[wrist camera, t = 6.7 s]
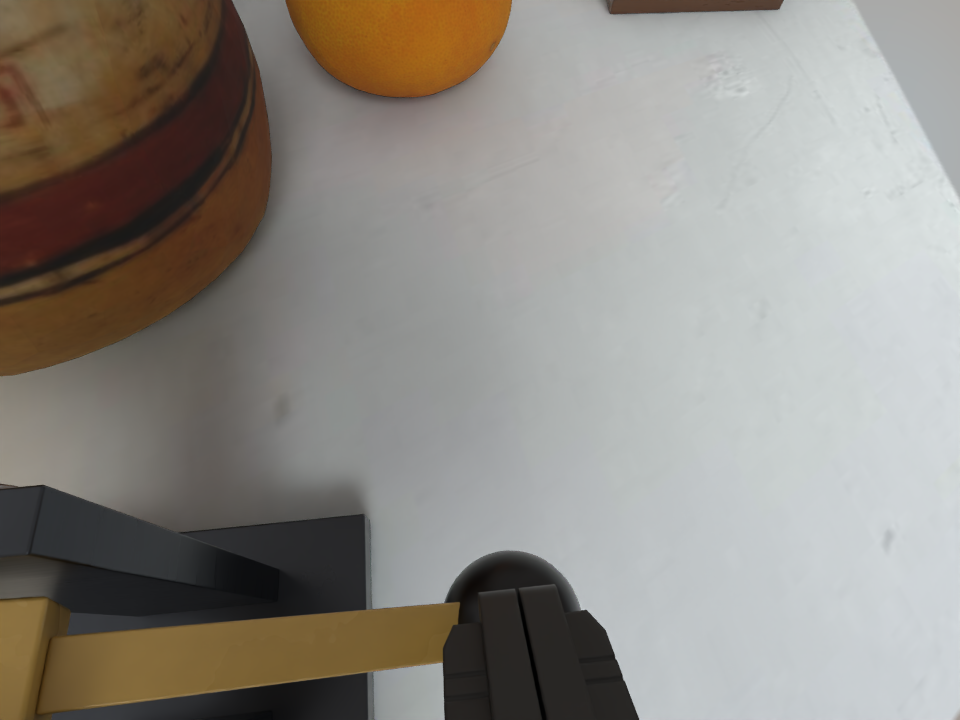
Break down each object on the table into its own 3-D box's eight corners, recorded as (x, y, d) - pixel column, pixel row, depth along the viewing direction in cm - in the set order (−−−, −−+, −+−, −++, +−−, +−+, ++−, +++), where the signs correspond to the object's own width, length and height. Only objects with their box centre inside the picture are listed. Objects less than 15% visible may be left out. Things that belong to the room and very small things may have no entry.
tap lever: (529, 558, 16) (596, 536, 13) (547, 693, 14) (626, 698, 12) (-108, 592, 10) (-204, 567, 8) (-177, 815, 9) (-322, 874, 6)
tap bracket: (370, 519, 21) (247, 373, 9) (375, 790, 17) (190, 1094, 6) (82, 548, 20) (-433, 431, 9) (29, 835, 17) (-938, 1269, 5)
